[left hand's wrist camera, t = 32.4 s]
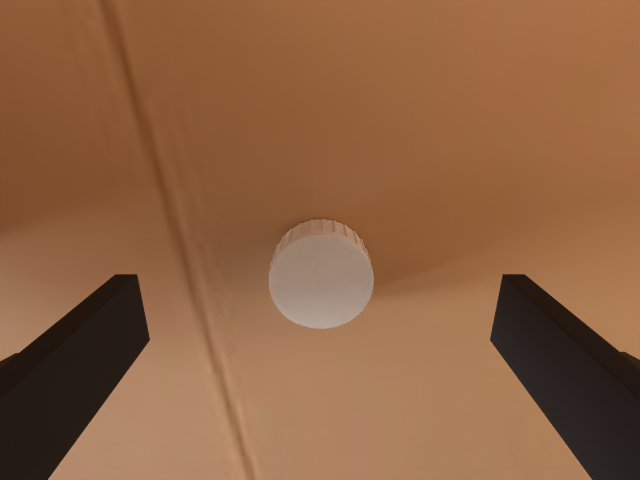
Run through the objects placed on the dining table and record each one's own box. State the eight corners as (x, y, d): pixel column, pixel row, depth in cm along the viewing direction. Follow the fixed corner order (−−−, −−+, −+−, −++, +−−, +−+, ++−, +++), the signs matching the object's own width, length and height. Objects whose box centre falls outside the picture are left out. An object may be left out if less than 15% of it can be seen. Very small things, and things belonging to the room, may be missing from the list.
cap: (358, 310, 17) (363, 336, 15) (268, 298, 17) (261, 322, 15) (377, 225, 16) (386, 242, 14) (279, 210, 15) (273, 225, 13)
